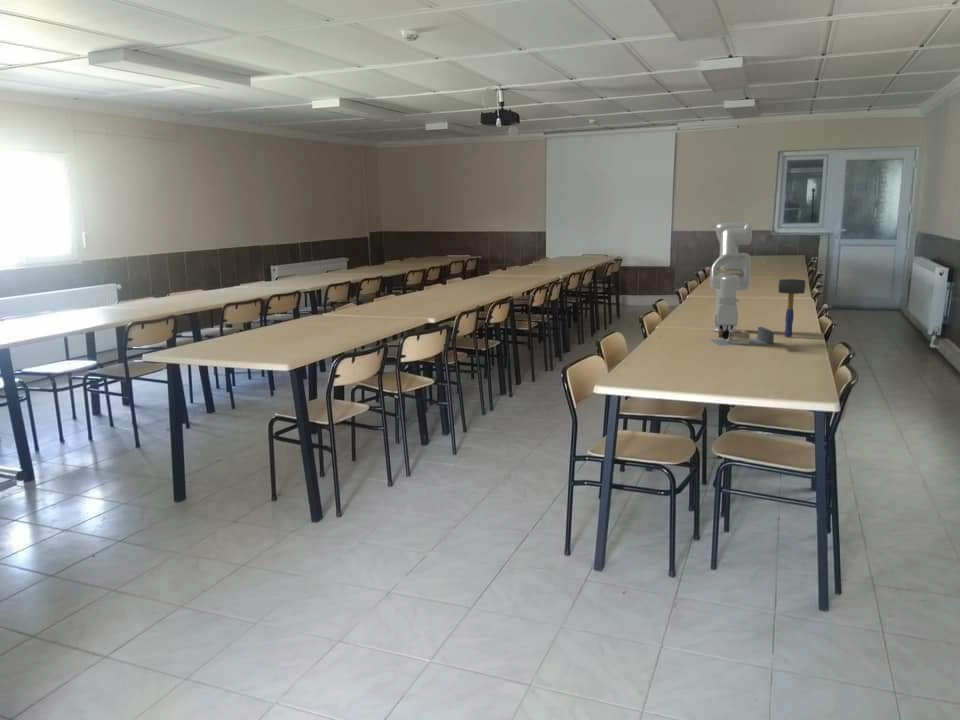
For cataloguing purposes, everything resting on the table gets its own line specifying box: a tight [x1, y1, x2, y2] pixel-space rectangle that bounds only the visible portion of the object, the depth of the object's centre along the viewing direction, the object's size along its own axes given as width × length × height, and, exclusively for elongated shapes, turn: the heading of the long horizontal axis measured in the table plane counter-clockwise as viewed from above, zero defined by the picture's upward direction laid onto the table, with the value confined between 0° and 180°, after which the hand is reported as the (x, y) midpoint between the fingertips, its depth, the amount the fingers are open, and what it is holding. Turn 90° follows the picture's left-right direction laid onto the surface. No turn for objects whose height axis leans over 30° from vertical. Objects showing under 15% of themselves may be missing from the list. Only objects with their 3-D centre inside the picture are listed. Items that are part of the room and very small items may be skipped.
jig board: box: [710, 326, 775, 346], centre depth 346 cm, size 15×26×8 cm, turn 90°
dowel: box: [718, 325, 726, 339], centre depth 358 cm, size 3×3×12 cm
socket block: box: [727, 330, 751, 344], centre depth 346 cm, size 8×8×5 cm
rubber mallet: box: [778, 278, 806, 338], centre depth 361 cm, size 12×8×30 cm, turn 66°
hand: (725, 338), depth 346 cm, fingers closed
